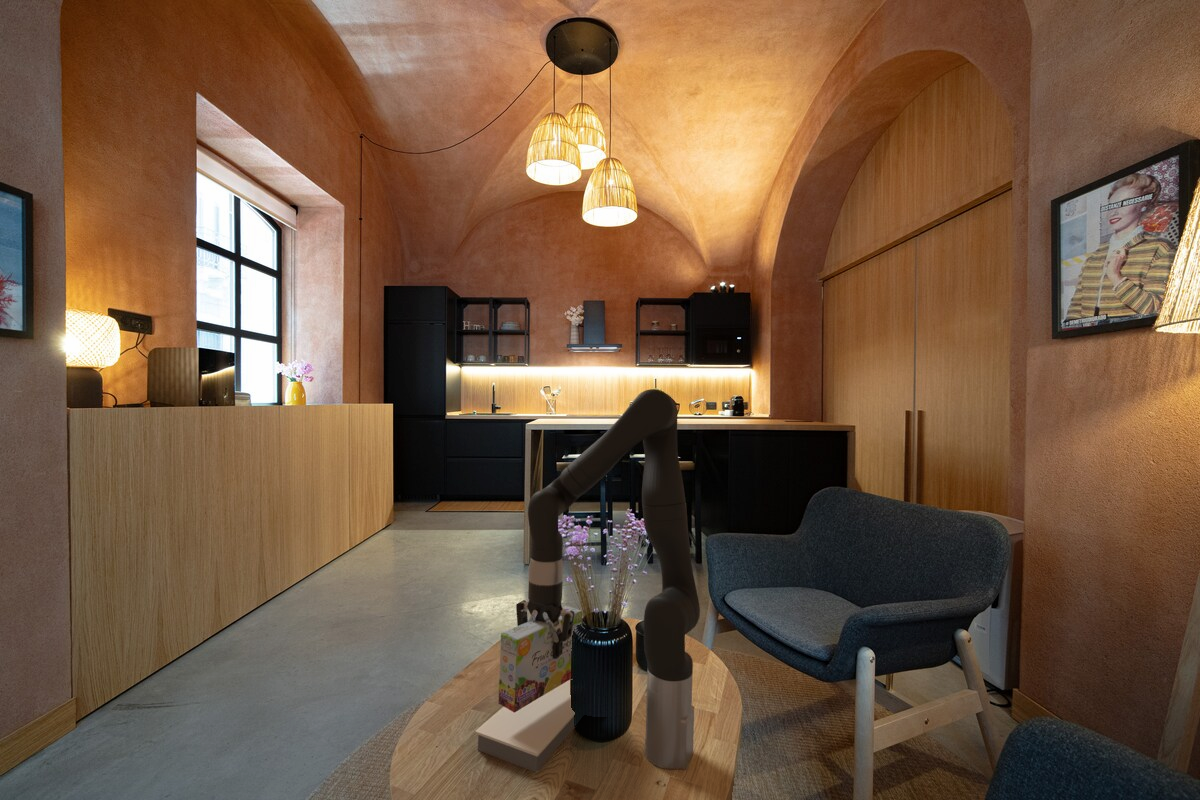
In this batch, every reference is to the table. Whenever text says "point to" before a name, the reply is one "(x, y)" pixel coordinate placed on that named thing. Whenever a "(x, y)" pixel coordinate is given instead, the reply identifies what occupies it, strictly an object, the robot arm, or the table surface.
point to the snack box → (532, 662)
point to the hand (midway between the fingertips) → (543, 653)
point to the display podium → (529, 730)
